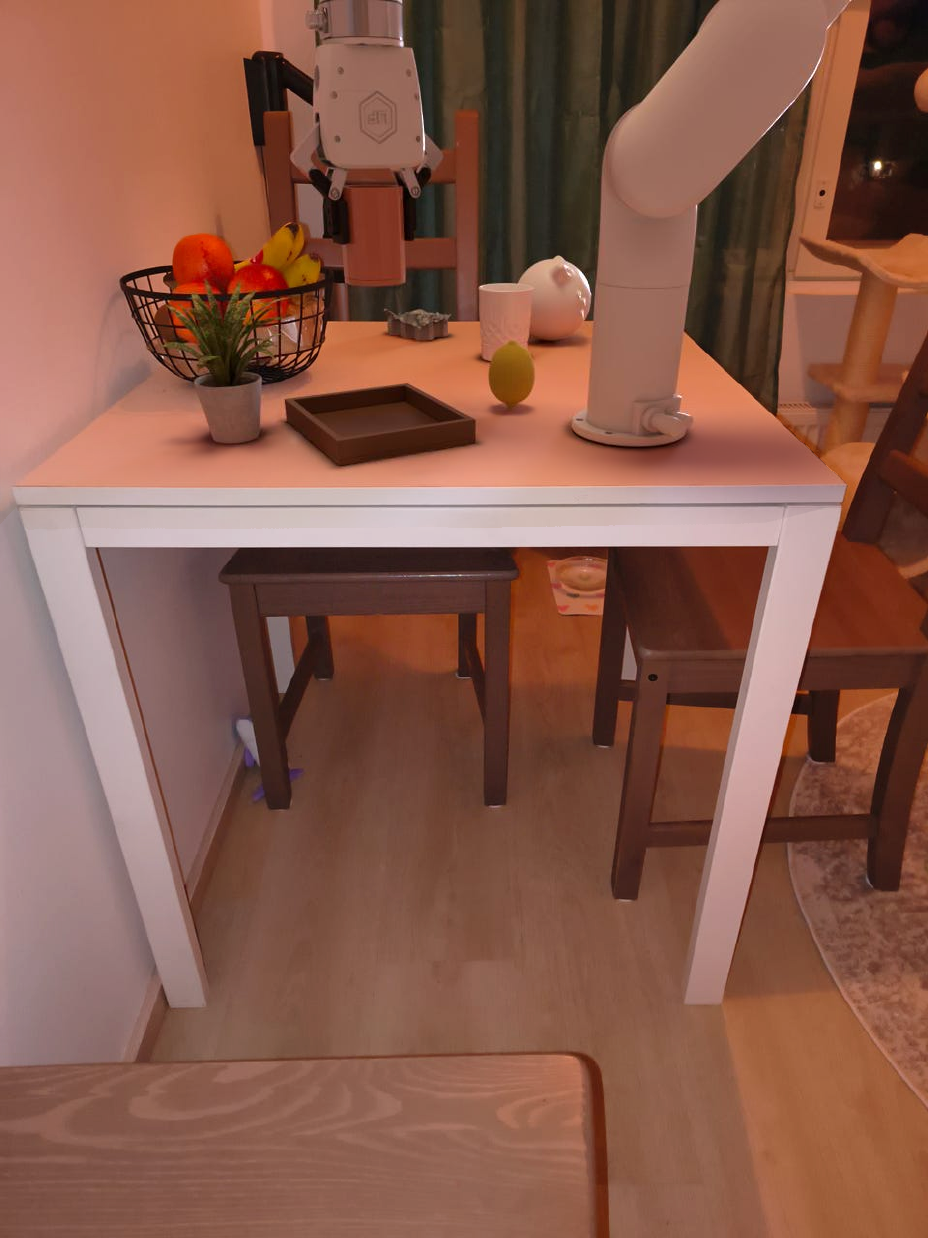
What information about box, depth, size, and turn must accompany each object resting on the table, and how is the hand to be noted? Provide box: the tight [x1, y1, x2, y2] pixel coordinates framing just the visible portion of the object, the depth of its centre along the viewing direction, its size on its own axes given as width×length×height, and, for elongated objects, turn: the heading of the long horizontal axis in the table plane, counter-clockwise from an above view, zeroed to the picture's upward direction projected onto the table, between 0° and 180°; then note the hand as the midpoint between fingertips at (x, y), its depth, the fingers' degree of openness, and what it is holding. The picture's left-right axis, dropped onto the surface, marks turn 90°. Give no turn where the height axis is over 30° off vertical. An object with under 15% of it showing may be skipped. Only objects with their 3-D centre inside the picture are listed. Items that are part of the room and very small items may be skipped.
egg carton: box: [382, 308, 452, 342], centre depth 139 cm, size 11×8×4 cm
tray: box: [284, 382, 477, 467], centre depth 92 cm, size 18×16×3 cm
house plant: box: [161, 278, 294, 444], centre depth 86 cm, size 14×14×16 cm
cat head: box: [517, 255, 592, 342], centre depth 133 cm, size 15×13×12 cm
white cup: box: [478, 282, 533, 362], centre depth 122 cm, size 8×8×10 cm
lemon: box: [488, 341, 536, 409], centre depth 99 cm, size 6×6×8 cm
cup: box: [341, 184, 407, 288], centre depth 85 cm, size 6×6×9 cm
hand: (373, 239), depth 85 cm, fingers closed on cup, 6 cm apart
